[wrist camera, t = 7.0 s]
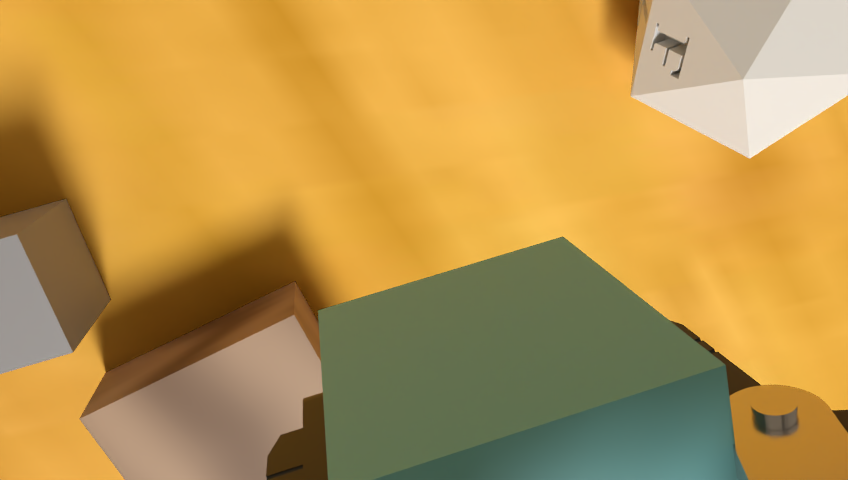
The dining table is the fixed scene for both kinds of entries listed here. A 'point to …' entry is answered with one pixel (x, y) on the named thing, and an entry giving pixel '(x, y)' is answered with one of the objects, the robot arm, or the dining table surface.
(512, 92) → the dining table surface
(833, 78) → the die
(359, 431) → the teal block
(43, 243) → the gray block
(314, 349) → the walnut base block
